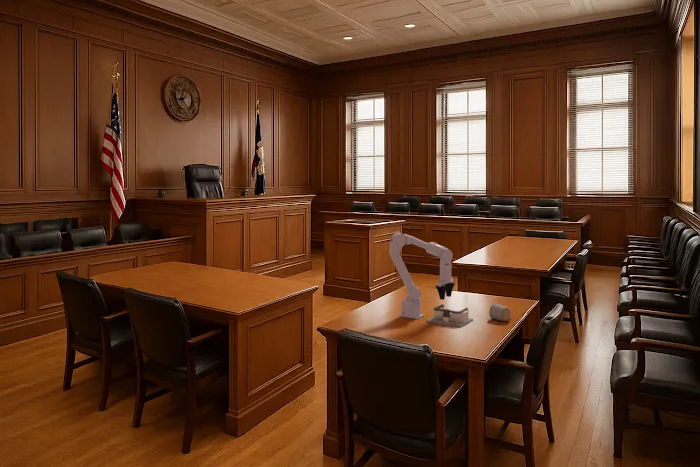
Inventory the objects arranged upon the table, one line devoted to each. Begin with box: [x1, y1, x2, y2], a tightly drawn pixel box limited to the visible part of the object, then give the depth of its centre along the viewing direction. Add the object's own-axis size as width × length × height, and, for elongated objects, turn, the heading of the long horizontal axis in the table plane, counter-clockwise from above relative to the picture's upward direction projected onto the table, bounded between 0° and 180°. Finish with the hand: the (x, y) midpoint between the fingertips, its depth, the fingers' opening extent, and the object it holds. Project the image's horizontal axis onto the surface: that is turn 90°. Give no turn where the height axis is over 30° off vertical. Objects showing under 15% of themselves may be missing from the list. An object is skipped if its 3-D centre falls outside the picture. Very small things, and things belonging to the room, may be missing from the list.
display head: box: [426, 306, 474, 329], centre depth 252 cm, size 15×18×6 cm
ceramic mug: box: [488, 303, 512, 322], centre depth 254 cm, size 11×8×8 cm
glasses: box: [433, 304, 469, 321], centre depth 253 cm, size 10×14×5 cm
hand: (445, 297), depth 261 cm, fingers open, 7 cm apart
